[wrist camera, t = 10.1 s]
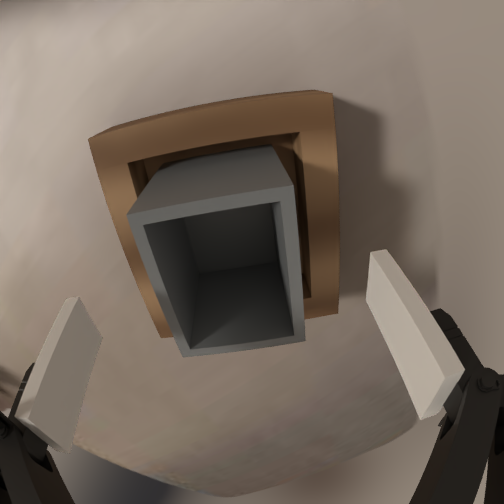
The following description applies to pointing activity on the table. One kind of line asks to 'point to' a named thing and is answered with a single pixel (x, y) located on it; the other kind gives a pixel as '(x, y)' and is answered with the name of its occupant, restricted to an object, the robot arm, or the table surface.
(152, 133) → the walnut crate
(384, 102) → the table surface
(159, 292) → the grey open box
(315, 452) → the table surface
